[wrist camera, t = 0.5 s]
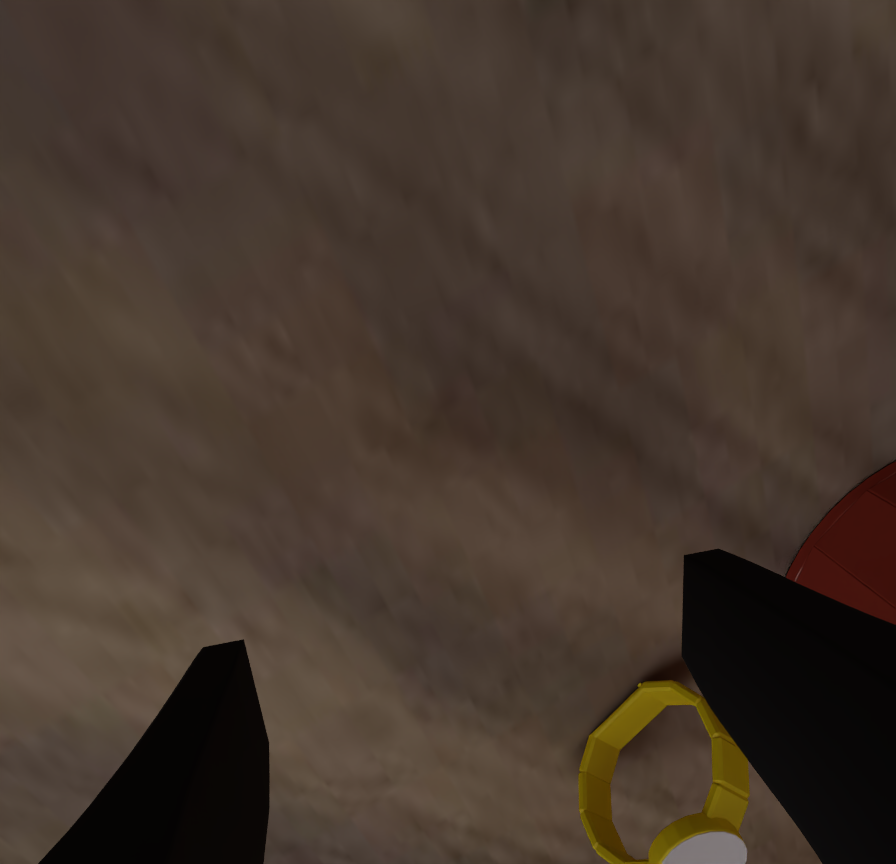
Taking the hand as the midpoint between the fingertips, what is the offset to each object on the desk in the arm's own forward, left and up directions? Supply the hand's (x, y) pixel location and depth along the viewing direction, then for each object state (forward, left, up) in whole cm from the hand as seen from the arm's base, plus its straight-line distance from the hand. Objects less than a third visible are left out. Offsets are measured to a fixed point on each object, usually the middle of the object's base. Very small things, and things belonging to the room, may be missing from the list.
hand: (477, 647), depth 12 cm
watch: (-13, -6, -10) cm, 17 cm away
